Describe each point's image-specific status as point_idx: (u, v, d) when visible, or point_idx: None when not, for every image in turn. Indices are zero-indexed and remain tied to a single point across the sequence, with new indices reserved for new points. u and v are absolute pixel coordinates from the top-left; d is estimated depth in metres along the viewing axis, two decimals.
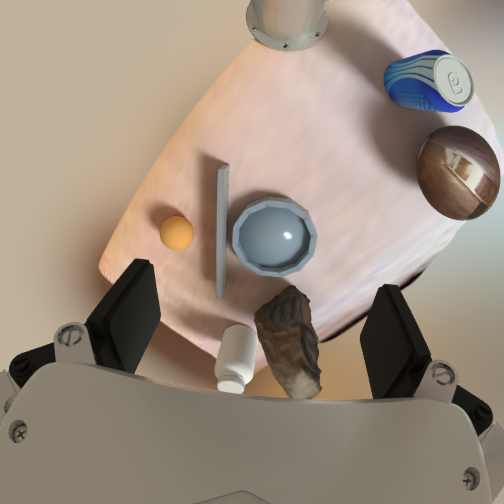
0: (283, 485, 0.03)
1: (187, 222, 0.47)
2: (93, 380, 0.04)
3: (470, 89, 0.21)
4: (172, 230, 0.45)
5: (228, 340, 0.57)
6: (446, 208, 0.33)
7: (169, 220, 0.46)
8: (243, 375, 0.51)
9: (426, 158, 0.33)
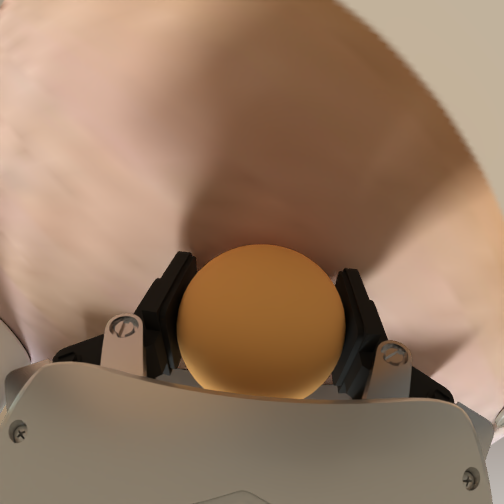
0: (283, 485, 0.03)
1: None
2: (93, 380, 0.04)
3: None
4: (306, 393, 0.08)
5: None
6: None
7: (344, 334, 0.09)
8: None
9: None
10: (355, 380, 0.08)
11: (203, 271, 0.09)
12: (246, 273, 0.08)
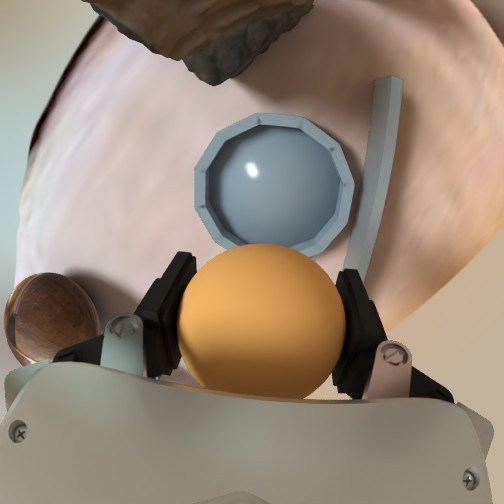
0: (283, 485, 0.03)
1: None
2: (93, 380, 0.04)
3: None
4: (306, 392, 0.08)
5: None
6: (39, 322, 0.24)
7: (344, 333, 0.09)
8: None
9: None
10: (355, 380, 0.08)
11: (203, 270, 0.09)
12: (246, 272, 0.08)
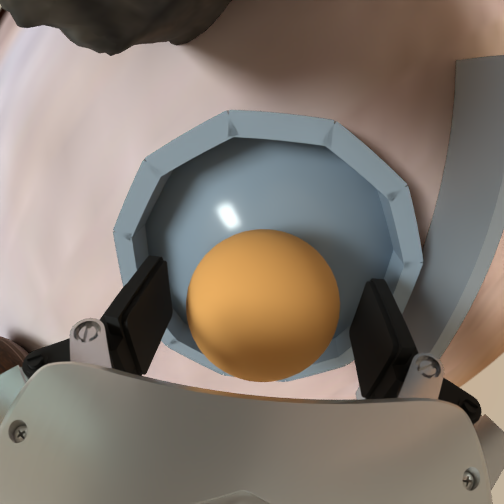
0: (283, 485, 0.03)
1: None
2: (93, 380, 0.04)
3: None
4: (304, 363, 0.09)
5: None
6: None
7: (338, 309, 0.10)
8: None
9: None
10: (387, 393, 0.07)
11: (211, 252, 0.10)
12: (250, 251, 0.09)
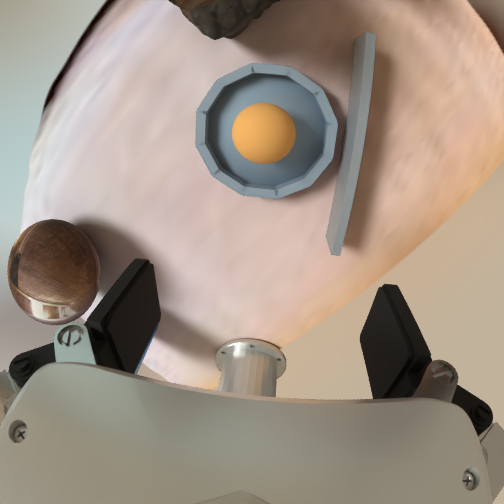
0: (283, 485, 0.03)
1: None
2: (93, 380, 0.04)
3: None
4: (280, 141, 0.23)
5: None
6: (43, 258, 0.26)
7: (293, 128, 0.23)
8: None
9: (88, 289, 0.32)
10: None
11: None
12: (259, 104, 0.23)
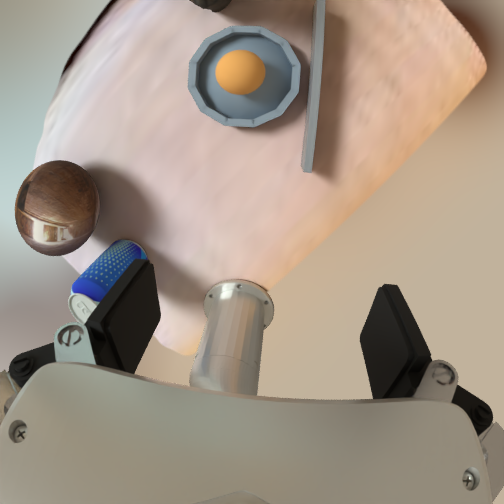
0: (283, 485, 0.03)
1: (257, 88, 0.30)
2: (93, 380, 0.04)
3: (72, 306, 0.34)
4: (250, 71, 0.26)
5: None
6: (51, 183, 0.30)
7: (262, 65, 0.27)
8: None
9: (87, 216, 0.35)
10: None
11: None
12: (235, 50, 0.27)
